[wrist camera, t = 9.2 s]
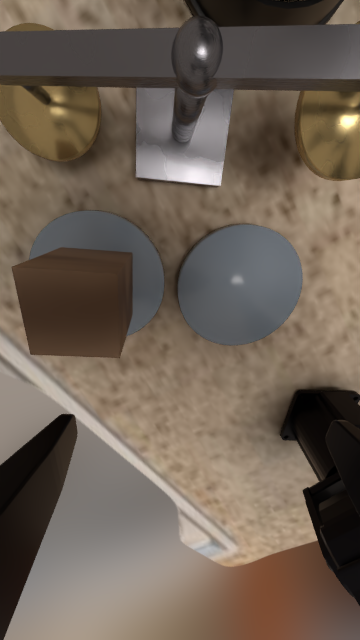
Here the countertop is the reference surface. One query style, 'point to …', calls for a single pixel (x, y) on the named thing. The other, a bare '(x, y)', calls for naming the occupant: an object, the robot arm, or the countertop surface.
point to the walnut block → (76, 301)
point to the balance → (182, 91)
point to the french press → (265, 12)
